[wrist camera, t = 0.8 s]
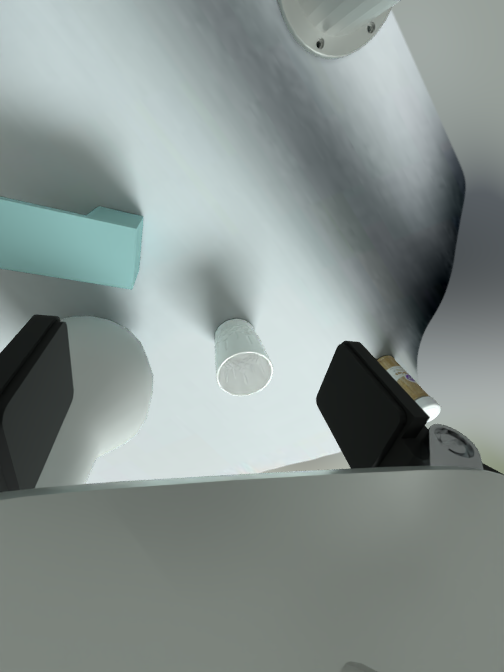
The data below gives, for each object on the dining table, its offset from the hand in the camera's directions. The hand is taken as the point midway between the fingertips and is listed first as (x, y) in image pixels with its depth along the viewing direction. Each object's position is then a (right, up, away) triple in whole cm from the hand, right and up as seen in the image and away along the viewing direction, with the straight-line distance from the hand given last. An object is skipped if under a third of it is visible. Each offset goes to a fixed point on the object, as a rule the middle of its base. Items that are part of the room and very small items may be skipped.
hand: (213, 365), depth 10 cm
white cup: (-1, +1, +39) cm, 39 cm away
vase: (-21, 0, +35) cm, 41 cm away
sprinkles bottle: (+27, -4, +49) cm, 56 cm away
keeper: (-19, +14, +26) cm, 35 cm away
